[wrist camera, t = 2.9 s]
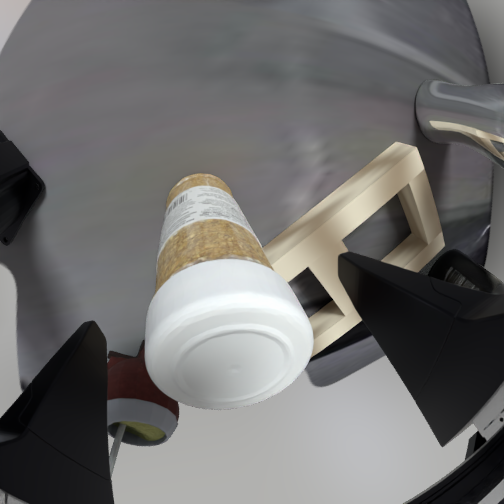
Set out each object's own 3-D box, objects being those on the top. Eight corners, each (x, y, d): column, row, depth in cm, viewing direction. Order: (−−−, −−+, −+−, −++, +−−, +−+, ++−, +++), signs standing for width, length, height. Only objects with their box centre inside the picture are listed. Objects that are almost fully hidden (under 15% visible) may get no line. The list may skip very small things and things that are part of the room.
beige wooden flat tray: (268, 362, 27) (275, 383, 25) (190, 304, 22) (192, 327, 19) (428, 234, 24) (446, 247, 22) (395, 141, 19) (419, 147, 17)
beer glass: (462, 135, 20) (587, 186, 7) (421, 157, 20) (569, 227, 7) (446, 69, 16) (586, 94, 3) (401, 82, 17) (576, 110, 4)
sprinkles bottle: (195, 248, 20) (222, 428, 8) (152, 201, 17) (106, 369, 6) (247, 208, 19) (342, 360, 7) (206, 156, 17) (257, 260, 5)
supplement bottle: (428, 305, 30) (486, 365, 20) (420, 273, 27) (493, 341, 16) (462, 270, 29) (522, 322, 19) (457, 235, 26) (532, 290, 16)
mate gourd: (185, 347, 24) (207, 511, 11) (163, 392, 26) (174, 522, 13) (105, 324, 21) (81, 496, 8) (96, 375, 23) (84, 510, 10)
